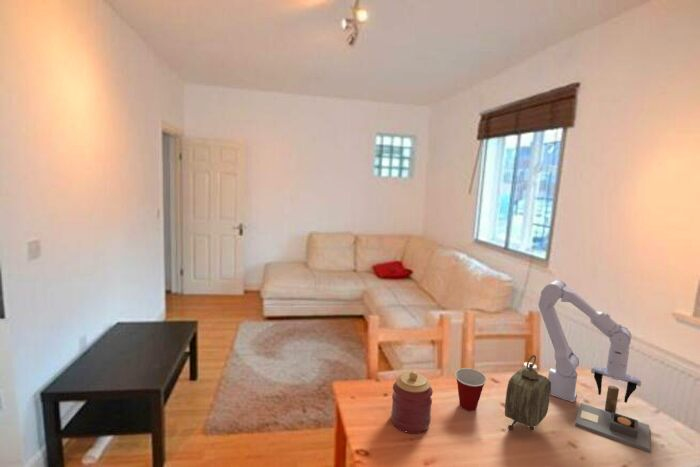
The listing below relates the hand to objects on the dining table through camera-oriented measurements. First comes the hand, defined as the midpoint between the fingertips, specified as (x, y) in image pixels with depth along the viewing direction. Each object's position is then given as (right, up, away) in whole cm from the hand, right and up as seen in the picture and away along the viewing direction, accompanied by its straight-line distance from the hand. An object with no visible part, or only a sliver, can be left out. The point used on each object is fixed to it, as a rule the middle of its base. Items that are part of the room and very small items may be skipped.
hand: (612, 397), depth 137 cm
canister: (-74, -4, -9) cm, 75 cm away
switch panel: (-6, -6, -8) cm, 12 cm away
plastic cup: (-52, -4, 0) cm, 52 cm away
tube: (-29, -4, +4) cm, 30 cm away
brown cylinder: (0, -5, +1) cm, 5 cm away
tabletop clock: (-36, -6, -10) cm, 38 cm away
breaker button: (-4, -4, -11) cm, 12 cm away
